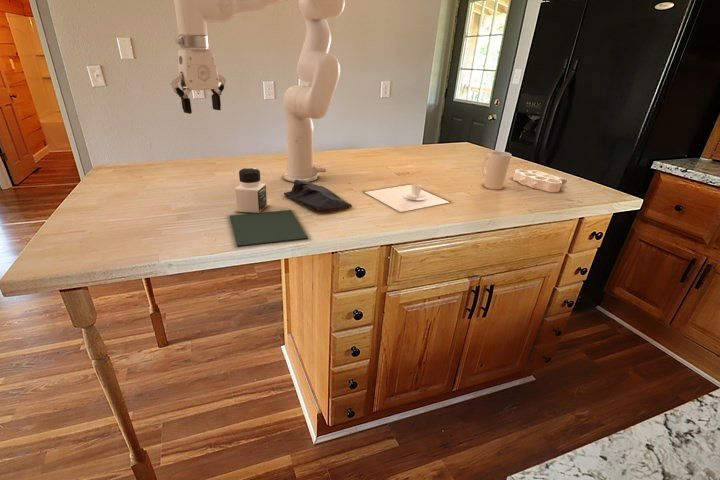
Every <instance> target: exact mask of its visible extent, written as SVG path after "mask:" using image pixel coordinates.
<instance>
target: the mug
mask: <svg viewBox="0 0 720 480" xmlns="http://www.w3.org/2000/svg"><path fill="white" fill-rule="evenodd" d="M511 159H512V153H510V152H508V151H501V150H494V151H491V152H487V153H486V156H485V157H484V158H483V161H482V165H481V166H482V176H483V177H484V184H483V186H484V188H487V189H490V190H501V189H503V187H504V183H505V180H506V177H507V172H508V169H509V166H510V163H511ZM487 161H488V162H487ZM487 163H488V164H487ZM486 165H487V166H486ZM486 167H487V168H486Z"/></svg>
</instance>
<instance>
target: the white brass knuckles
mask: <svg viewBox="0 0 720 480" xmlns="http://www.w3.org/2000/svg"><path fill="white" fill-rule="evenodd" d="M512 180H513V181H515V182H518V183H519V184H520V185H523V186H526V187H529V188H531V189H536V190H541V191H545V192H547V193H559V192H560V190H561V188H562V187H563V186H565V185H566V184H567V183H568V180H567V179H566V178H565V177H560V176H556V175H554V174H552V173H547V172H543V171H541V170H539V169H536V170H528V169H515V171H514V174H513V176H512Z"/></svg>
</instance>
